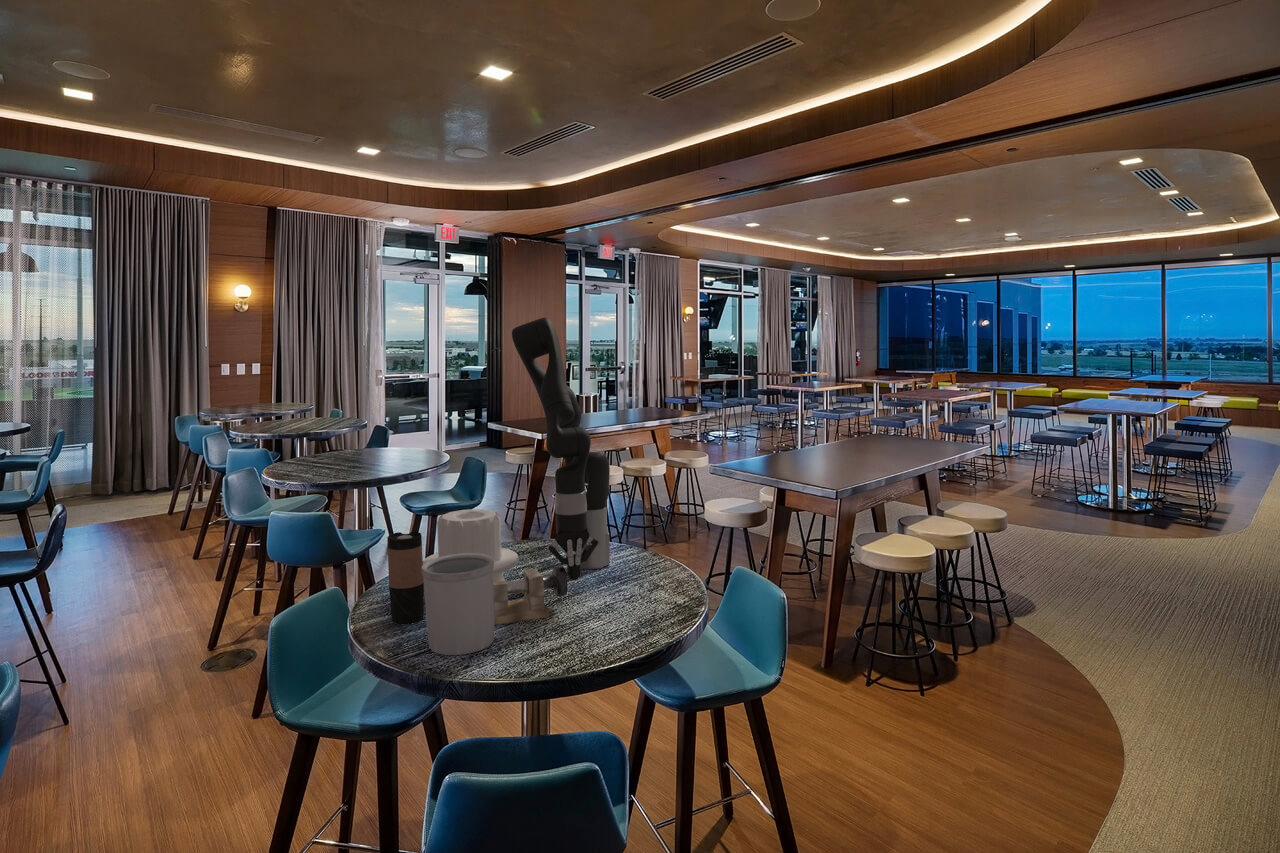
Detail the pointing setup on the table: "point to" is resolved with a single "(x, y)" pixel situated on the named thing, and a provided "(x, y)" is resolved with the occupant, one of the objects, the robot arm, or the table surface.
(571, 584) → the table surface
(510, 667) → the table surface
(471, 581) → the utensil holder
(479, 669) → the table surface
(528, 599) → the block
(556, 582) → the shaft
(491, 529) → the ribbed cylinder on disc
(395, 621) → the travel mug
